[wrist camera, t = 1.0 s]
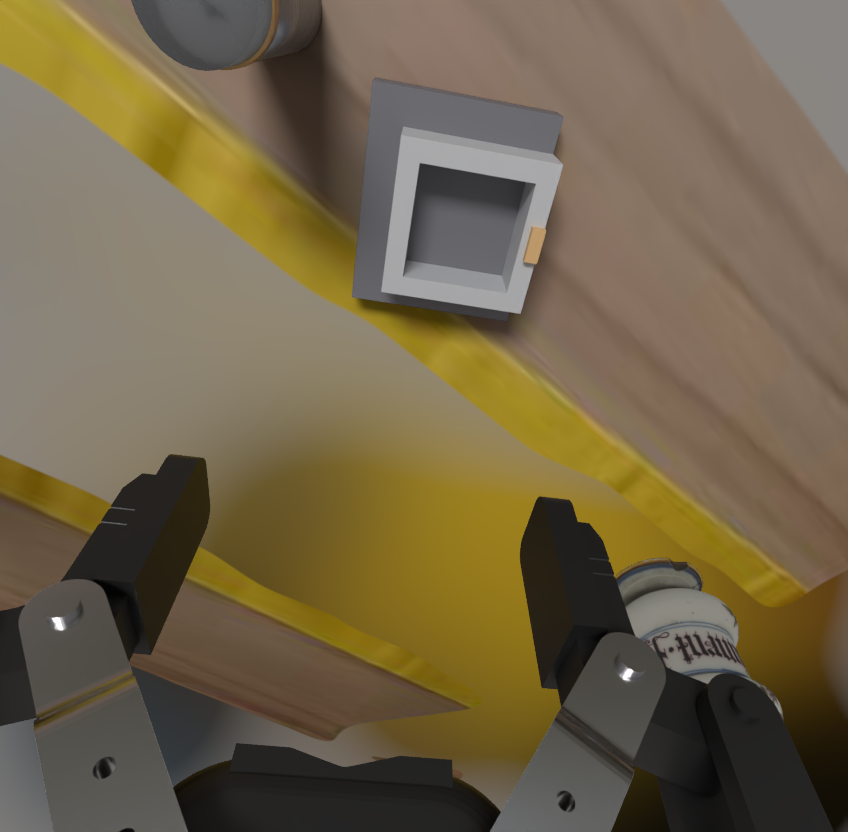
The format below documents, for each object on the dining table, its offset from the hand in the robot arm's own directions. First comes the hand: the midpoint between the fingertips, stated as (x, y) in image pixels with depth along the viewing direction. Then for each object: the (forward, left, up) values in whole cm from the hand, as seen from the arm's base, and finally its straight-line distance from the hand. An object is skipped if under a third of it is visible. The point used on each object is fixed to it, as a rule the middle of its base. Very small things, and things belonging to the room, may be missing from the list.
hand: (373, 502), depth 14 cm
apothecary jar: (+32, -35, -28) cm, 55 cm away
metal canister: (-8, +9, -28) cm, 31 cm away
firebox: (+3, 0, -28) cm, 28 cm away
